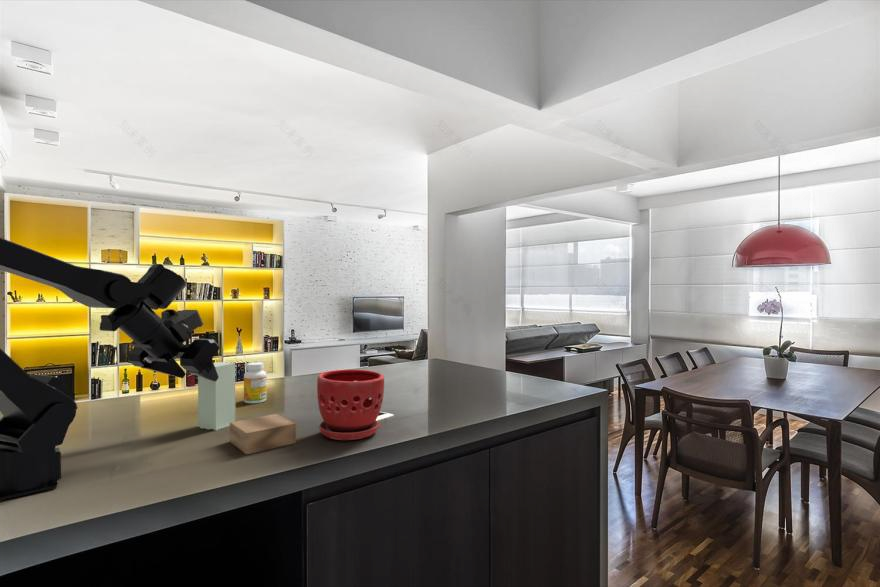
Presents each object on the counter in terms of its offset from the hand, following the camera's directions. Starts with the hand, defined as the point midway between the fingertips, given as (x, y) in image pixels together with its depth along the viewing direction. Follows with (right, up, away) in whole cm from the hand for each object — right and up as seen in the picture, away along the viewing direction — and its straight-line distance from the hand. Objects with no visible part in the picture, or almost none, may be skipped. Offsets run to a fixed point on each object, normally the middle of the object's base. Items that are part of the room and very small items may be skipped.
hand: (200, 377), depth 93 cm
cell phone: (+30, -11, +13) cm, 34 cm away
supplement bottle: (+1, -11, +25) cm, 27 cm away
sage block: (+2, -11, +4) cm, 12 cm away
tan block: (+15, -11, -7) cm, 20 cm away
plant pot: (+31, -11, -2) cm, 33 cm away
